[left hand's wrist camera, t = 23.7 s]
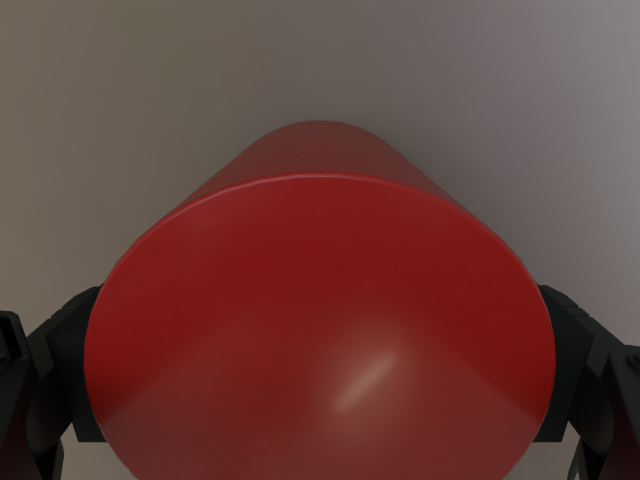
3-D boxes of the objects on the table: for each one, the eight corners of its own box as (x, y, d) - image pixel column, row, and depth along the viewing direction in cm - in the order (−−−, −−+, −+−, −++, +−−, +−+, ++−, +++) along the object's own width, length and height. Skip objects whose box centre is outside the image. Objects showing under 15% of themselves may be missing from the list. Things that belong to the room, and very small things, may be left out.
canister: (262, 340, 18) (207, 581, 9) (178, 164, 15) (-24, 274, 6) (445, 286, 17) (579, 500, 8) (394, 86, 14) (520, 83, 5)
